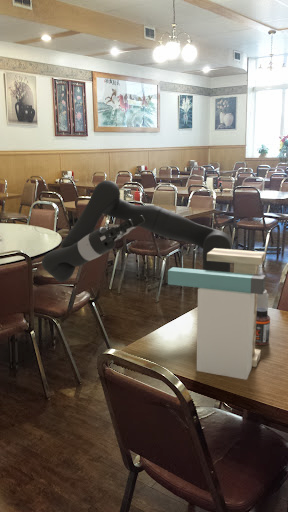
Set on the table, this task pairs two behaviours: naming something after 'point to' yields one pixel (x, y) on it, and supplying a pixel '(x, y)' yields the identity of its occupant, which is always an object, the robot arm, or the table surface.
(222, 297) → the base pedestal
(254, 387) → the table surface
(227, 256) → the beige wooden column stand
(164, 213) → the robot arm
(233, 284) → the teal bar
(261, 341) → the supplement bottle
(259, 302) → the can
